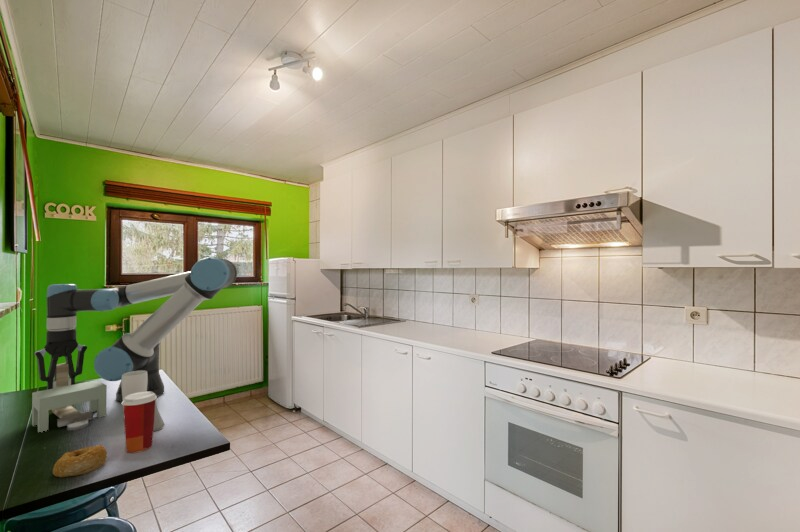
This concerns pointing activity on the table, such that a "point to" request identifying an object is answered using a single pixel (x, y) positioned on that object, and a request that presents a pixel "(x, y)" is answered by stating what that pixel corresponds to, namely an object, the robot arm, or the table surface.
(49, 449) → the table surface
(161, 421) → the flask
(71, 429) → the steel disc
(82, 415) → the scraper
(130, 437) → the paper cup
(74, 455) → the bagel
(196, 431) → the table surface
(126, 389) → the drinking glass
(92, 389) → the white bridge stand
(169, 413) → the table surface
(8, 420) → the table surface
